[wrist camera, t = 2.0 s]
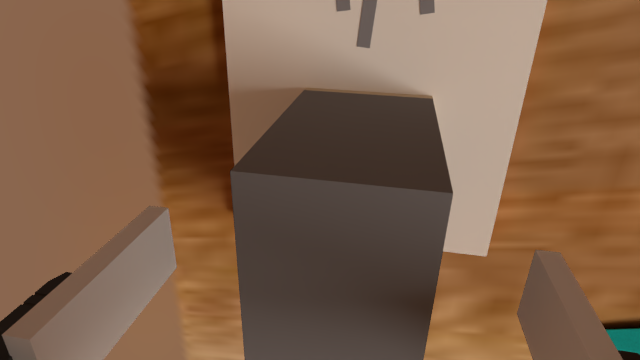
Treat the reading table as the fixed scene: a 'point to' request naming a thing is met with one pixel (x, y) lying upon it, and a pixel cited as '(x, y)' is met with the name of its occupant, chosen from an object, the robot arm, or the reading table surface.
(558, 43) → the reading table surface
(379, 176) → the block
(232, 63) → the board
